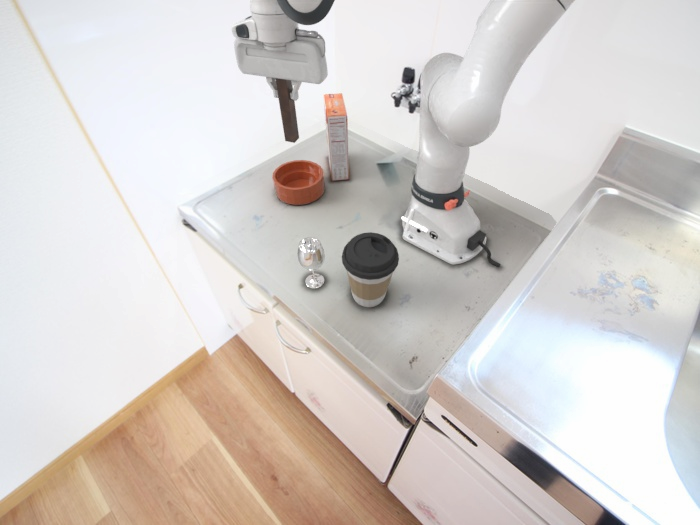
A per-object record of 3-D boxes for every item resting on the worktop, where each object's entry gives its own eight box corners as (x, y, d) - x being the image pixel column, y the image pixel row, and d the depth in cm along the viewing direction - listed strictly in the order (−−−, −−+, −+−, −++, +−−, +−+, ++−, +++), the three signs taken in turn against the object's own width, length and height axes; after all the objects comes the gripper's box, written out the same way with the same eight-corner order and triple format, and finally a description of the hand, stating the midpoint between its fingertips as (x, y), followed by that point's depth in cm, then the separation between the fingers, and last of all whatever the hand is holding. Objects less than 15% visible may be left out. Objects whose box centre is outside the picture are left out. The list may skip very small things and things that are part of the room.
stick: (299, 137, 86) (290, 69, 74) (294, 142, 85) (284, 73, 73) (289, 136, 87) (279, 67, 75) (285, 141, 85) (274, 71, 73)
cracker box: (327, 157, 115) (322, 93, 99) (345, 156, 115) (343, 92, 100) (330, 181, 106) (325, 115, 90) (349, 180, 106) (348, 113, 90)
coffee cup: (404, 300, 76) (412, 254, 65) (361, 324, 72) (362, 280, 61) (374, 267, 82) (377, 221, 71) (334, 288, 78) (330, 242, 67)
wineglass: (299, 276, 81) (292, 240, 72) (322, 268, 82) (318, 232, 73) (307, 294, 77) (300, 258, 68) (330, 286, 79) (327, 250, 70)
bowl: (334, 192, 102) (333, 175, 98) (293, 213, 96) (290, 196, 92) (306, 171, 110) (304, 154, 105) (267, 189, 104) (263, 172, 99)
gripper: (330, 27, 67) (333, 98, 78) (241, 18, 72) (255, 87, 83) (317, 36, 63) (322, 110, 74) (224, 26, 68) (241, 97, 79)
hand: (286, 98), depth 78 cm, fingers closed on stick, 2 cm apart
